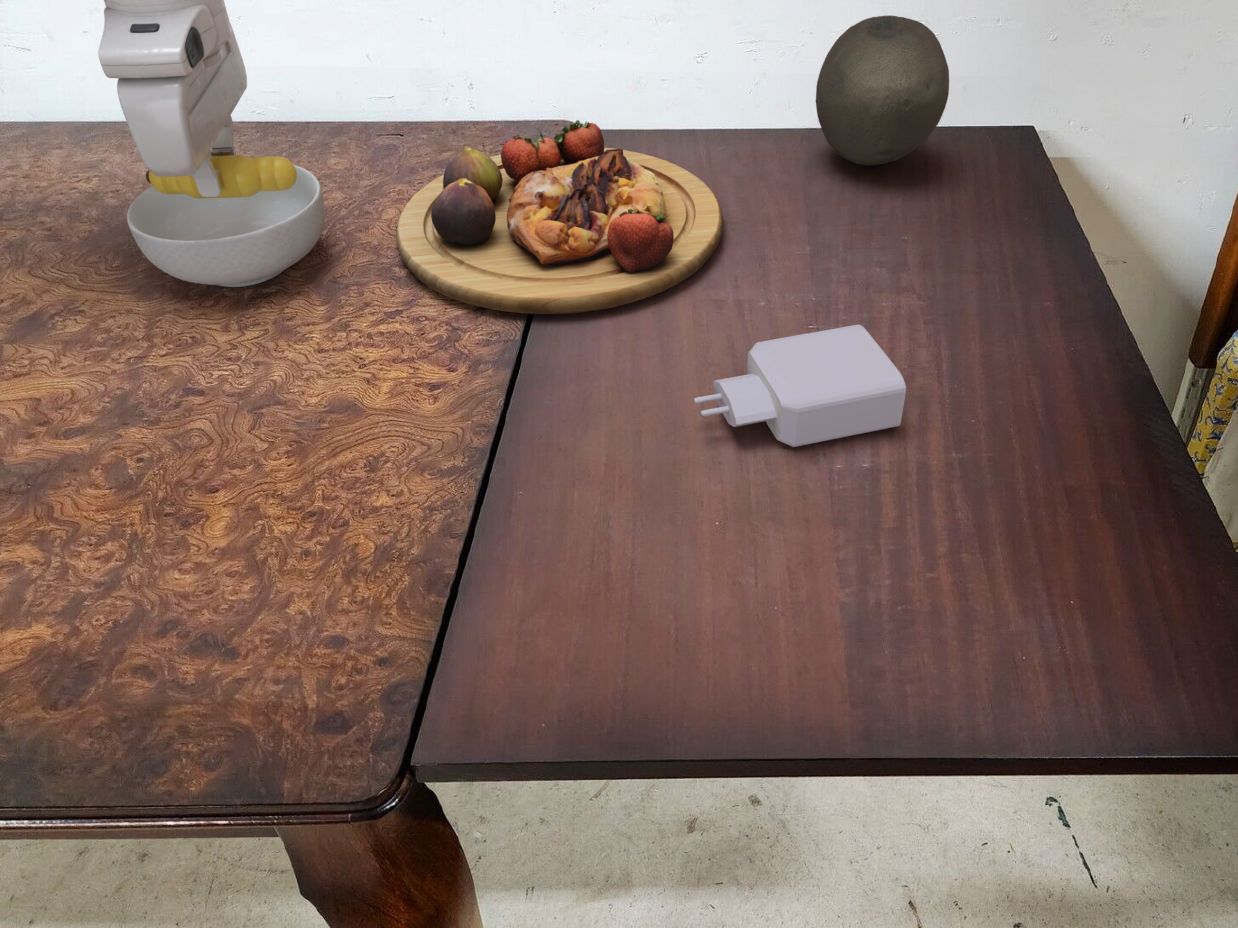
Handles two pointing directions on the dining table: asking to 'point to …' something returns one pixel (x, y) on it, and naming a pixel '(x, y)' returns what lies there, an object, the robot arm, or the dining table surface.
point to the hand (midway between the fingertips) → (220, 180)
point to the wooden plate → (558, 226)
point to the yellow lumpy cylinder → (234, 177)
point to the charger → (814, 387)
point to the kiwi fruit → (882, 89)
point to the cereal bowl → (229, 232)
